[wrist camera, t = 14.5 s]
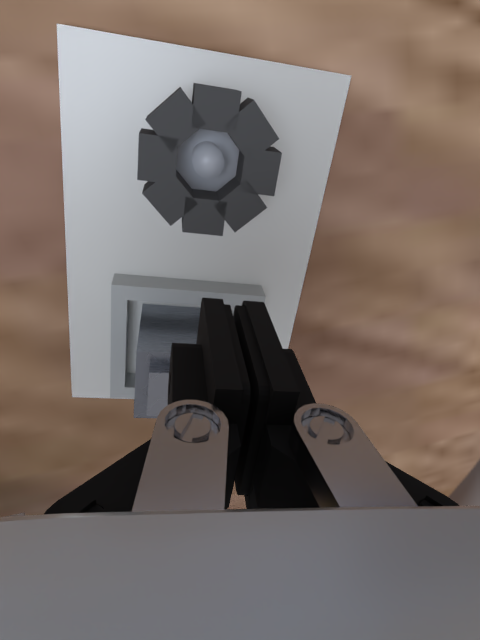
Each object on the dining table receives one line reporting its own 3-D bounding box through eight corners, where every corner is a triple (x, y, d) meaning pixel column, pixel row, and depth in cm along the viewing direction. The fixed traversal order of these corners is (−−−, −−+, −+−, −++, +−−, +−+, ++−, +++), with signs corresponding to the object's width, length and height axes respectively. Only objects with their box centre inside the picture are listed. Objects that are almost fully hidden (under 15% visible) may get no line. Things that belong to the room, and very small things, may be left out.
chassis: (272, 394, 38) (287, 443, 33) (75, 387, 35) (58, 440, 30) (344, 75, 26) (384, 76, 21) (61, 25, 24) (31, 13, 19)
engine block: (219, 366, 34) (229, 428, 28) (139, 363, 33) (132, 426, 27) (228, 309, 32) (240, 363, 26) (142, 303, 31) (135, 358, 25)
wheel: (259, 229, 25) (266, 240, 24) (138, 216, 24) (135, 227, 22) (282, 97, 22) (291, 99, 20) (143, 74, 21) (140, 75, 19)
